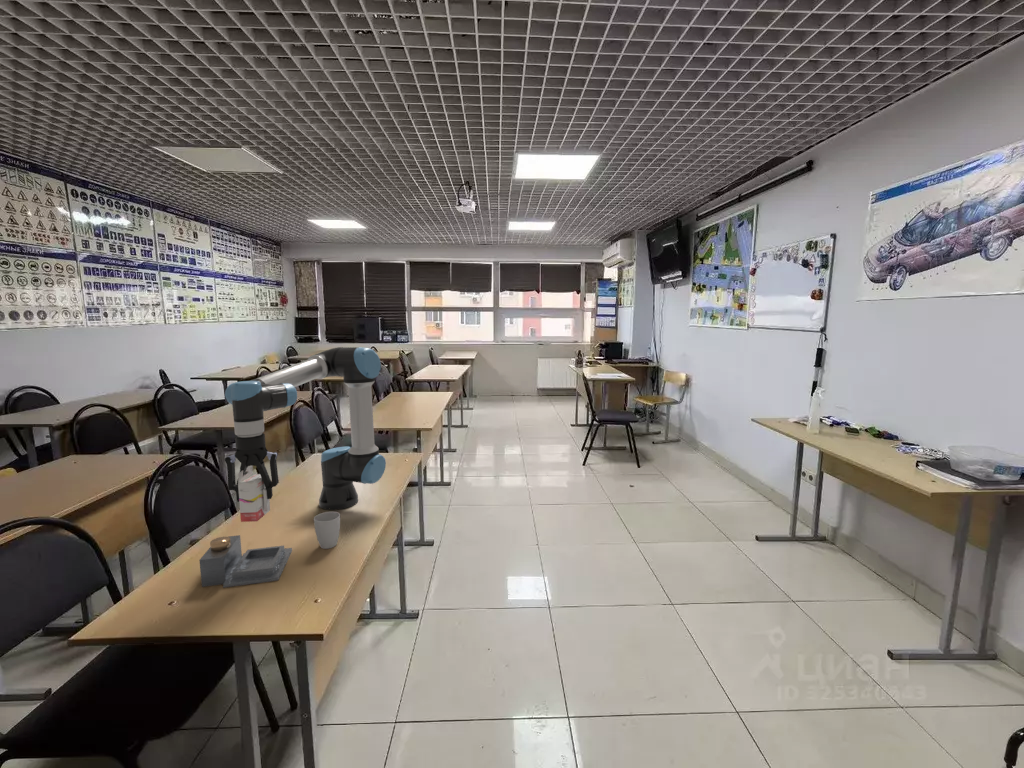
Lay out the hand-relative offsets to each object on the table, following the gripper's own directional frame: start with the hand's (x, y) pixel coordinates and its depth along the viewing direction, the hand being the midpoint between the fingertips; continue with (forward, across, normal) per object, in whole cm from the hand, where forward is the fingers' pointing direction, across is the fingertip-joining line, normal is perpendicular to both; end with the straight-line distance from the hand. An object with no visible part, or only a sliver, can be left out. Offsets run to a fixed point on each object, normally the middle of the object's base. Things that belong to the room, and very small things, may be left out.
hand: (255, 510), depth 133 cm
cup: (+18, -18, -10) cm, 28 cm away
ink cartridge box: (+2, 0, 0) cm, 2 cm away
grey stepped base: (+18, +3, 0) cm, 18 cm away
